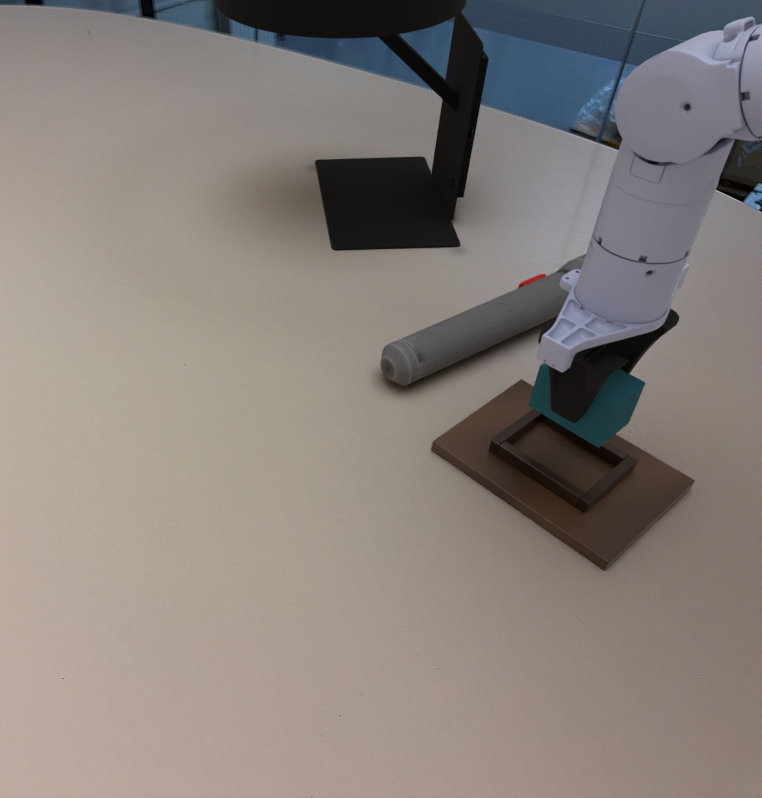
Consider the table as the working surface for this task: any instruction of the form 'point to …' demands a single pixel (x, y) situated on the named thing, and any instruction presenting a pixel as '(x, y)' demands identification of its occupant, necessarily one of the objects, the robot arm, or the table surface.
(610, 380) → the teal block
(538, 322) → the flashlight
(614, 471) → the brown board with frame
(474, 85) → the table lamp
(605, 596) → the table surface
